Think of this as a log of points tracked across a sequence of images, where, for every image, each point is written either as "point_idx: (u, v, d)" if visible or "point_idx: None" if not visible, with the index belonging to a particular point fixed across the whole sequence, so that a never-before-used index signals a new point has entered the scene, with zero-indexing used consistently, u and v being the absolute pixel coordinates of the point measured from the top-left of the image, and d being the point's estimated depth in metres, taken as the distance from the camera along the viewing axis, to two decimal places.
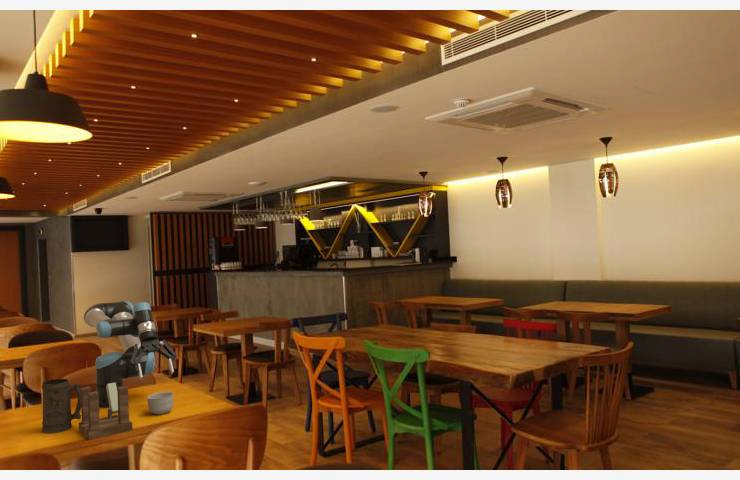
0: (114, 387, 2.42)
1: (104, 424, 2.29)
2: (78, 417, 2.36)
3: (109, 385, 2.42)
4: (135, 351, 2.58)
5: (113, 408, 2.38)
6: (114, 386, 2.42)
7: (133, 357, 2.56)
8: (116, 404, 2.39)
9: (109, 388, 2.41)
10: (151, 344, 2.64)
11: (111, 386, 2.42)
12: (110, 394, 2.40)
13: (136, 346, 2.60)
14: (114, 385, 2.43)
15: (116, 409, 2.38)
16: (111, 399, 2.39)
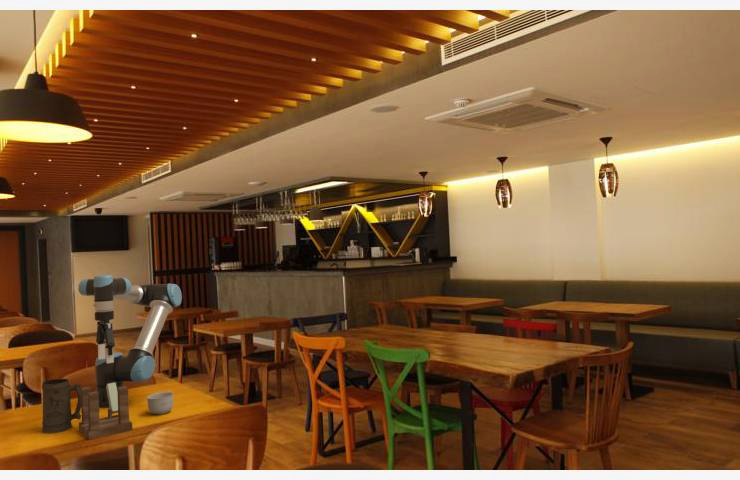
0: (114, 387, 2.42)
1: (104, 424, 2.29)
2: (78, 417, 2.36)
3: (109, 385, 2.42)
4: (97, 330, 2.54)
5: (113, 408, 2.38)
6: (114, 386, 2.42)
7: None
8: (116, 404, 2.39)
9: (109, 388, 2.41)
10: None
11: (111, 386, 2.42)
12: (110, 394, 2.40)
13: (97, 324, 2.54)
14: (114, 385, 2.43)
15: (116, 409, 2.38)
16: (111, 399, 2.39)
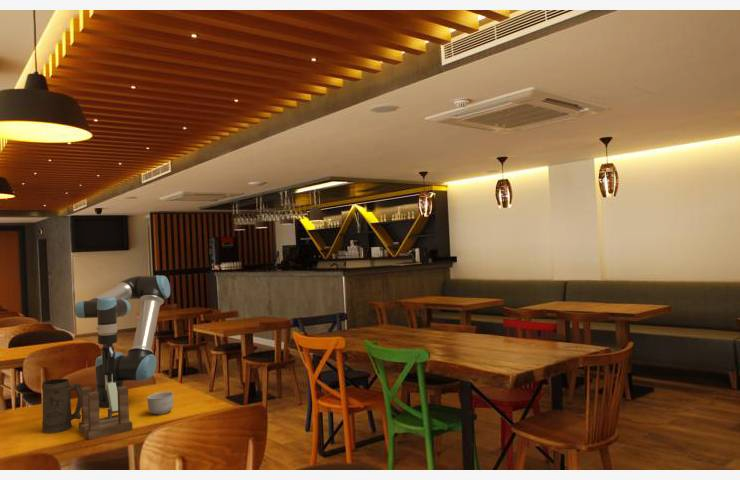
0: (114, 387, 2.42)
1: (104, 424, 2.29)
2: (78, 417, 2.36)
3: (109, 385, 2.41)
4: (102, 357, 2.48)
5: (113, 408, 2.38)
6: (114, 386, 2.42)
7: (103, 364, 2.47)
8: (116, 404, 2.39)
9: (109, 388, 2.41)
10: (105, 347, 2.44)
11: (112, 386, 2.42)
12: (110, 394, 2.40)
13: None
14: (114, 385, 2.42)
15: (116, 409, 2.38)
16: (111, 399, 2.39)
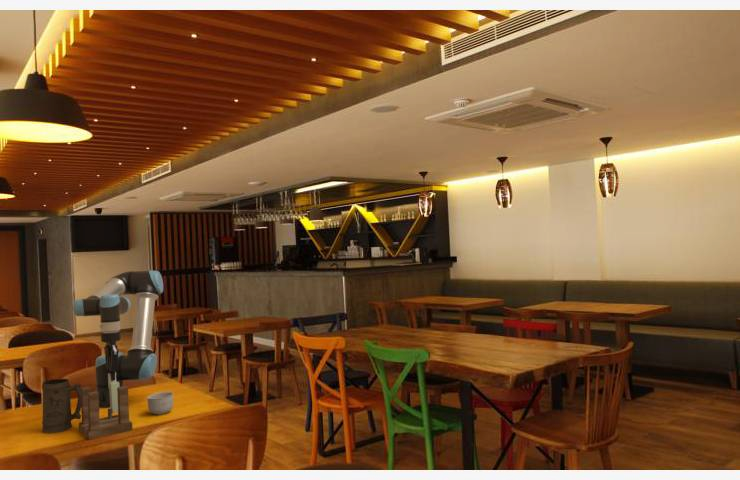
0: (117, 387, 2.39)
1: (104, 424, 2.29)
2: (78, 417, 2.36)
3: (112, 385, 2.38)
4: (105, 355, 2.44)
5: (114, 410, 2.37)
6: (117, 386, 2.39)
7: (106, 363, 2.43)
8: (117, 405, 2.38)
9: (112, 388, 2.37)
10: (108, 345, 2.40)
11: (115, 386, 2.38)
12: (112, 395, 2.37)
13: (104, 350, 2.45)
14: (117, 385, 2.39)
15: (116, 411, 2.38)
16: (113, 400, 2.37)
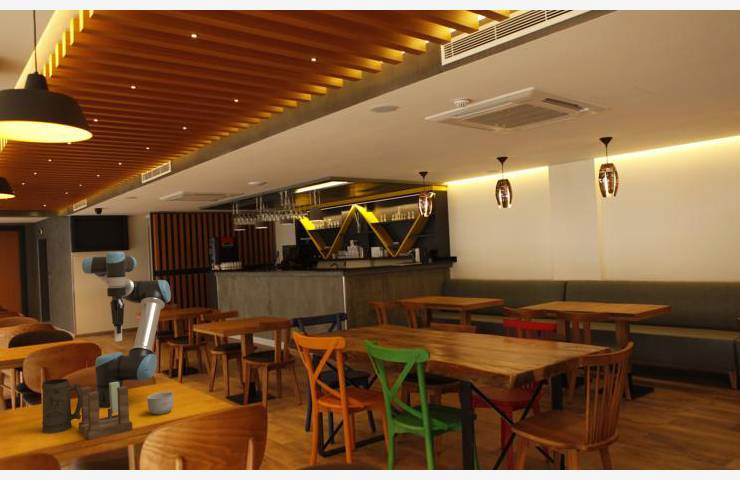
0: (117, 387, 2.39)
1: (104, 424, 2.29)
2: (78, 417, 2.36)
3: (112, 385, 2.38)
4: (111, 310, 2.55)
5: (114, 410, 2.37)
6: (117, 386, 2.39)
7: (112, 317, 2.54)
8: (117, 405, 2.38)
9: (112, 388, 2.37)
10: (114, 300, 2.51)
11: (115, 386, 2.38)
12: (112, 395, 2.37)
13: None
14: (117, 385, 2.39)
15: (116, 411, 2.38)
16: (113, 400, 2.37)
